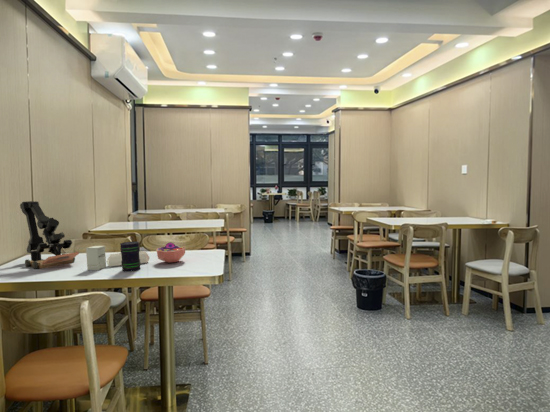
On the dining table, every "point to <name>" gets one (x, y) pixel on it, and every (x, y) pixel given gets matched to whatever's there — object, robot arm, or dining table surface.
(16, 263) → the dining table surface
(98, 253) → the supplement box
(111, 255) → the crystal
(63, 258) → the panel
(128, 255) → the storage jar
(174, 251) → the cell model
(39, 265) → the cart bed
